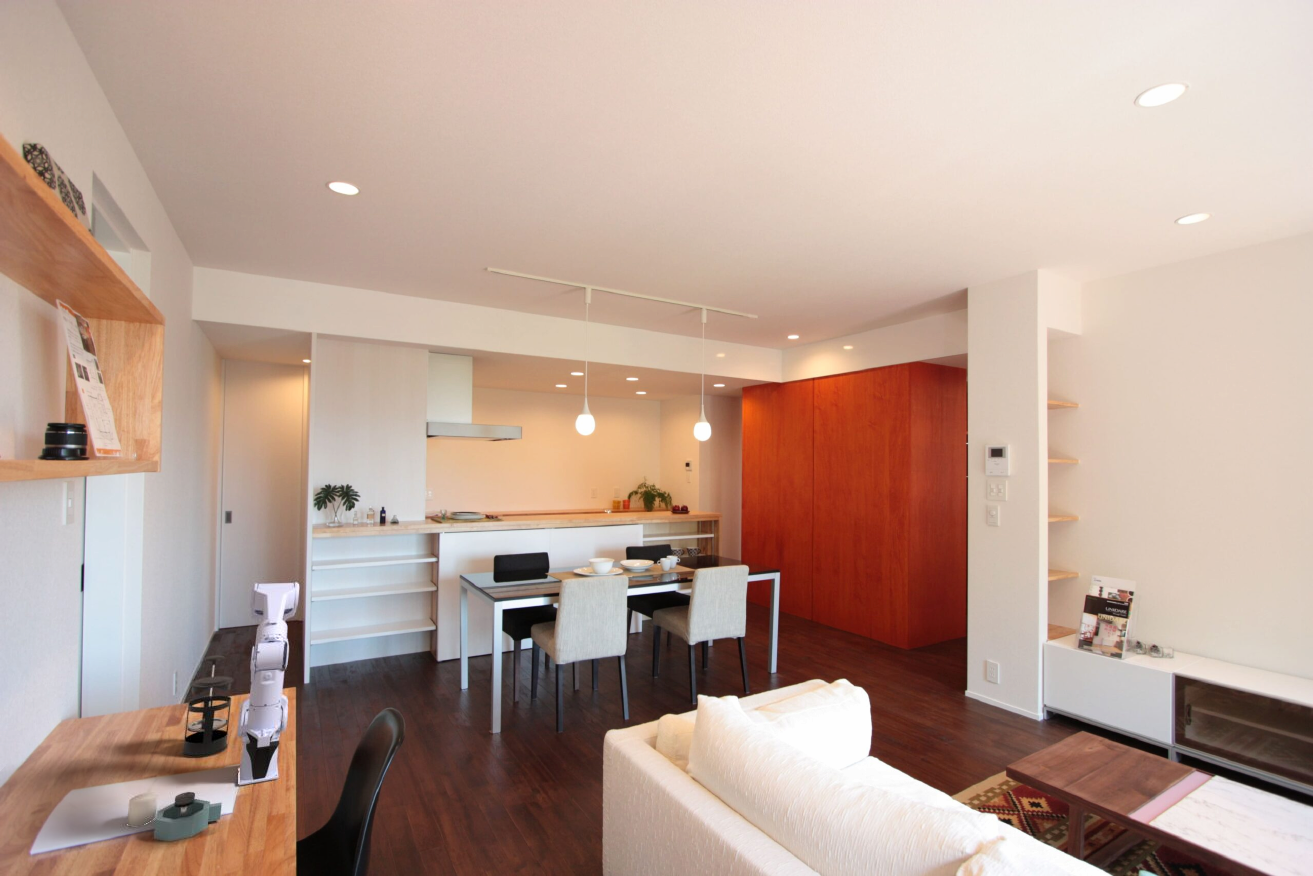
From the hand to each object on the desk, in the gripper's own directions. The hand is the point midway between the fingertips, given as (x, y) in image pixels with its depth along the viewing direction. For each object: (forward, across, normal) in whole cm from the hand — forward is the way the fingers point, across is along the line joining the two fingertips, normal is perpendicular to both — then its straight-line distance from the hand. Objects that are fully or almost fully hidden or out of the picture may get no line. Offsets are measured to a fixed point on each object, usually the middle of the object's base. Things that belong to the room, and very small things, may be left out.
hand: (258, 770), depth 129 cm
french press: (+10, -44, -10) cm, 46 cm away
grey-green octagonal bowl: (+10, -3, -12) cm, 16 cm away
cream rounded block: (+10, -10, -19) cm, 24 cm away
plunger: (+10, -3, -12) cm, 16 cm away
